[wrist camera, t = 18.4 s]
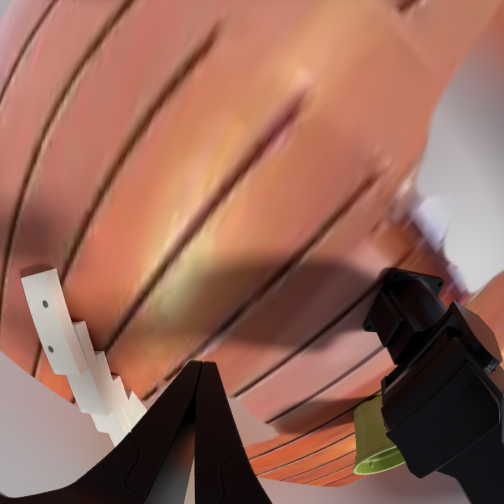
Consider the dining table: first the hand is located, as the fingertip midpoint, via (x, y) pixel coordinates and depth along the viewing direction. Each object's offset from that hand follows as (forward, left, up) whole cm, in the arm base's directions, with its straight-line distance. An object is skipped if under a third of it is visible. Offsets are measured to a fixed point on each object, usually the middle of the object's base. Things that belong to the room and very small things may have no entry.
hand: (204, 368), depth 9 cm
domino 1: (+17, +8, -12) cm, 22 cm away
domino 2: (+14, +13, -12) cm, 23 cm away
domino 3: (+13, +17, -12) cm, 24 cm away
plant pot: (-23, +21, -13) cm, 34 cm away
